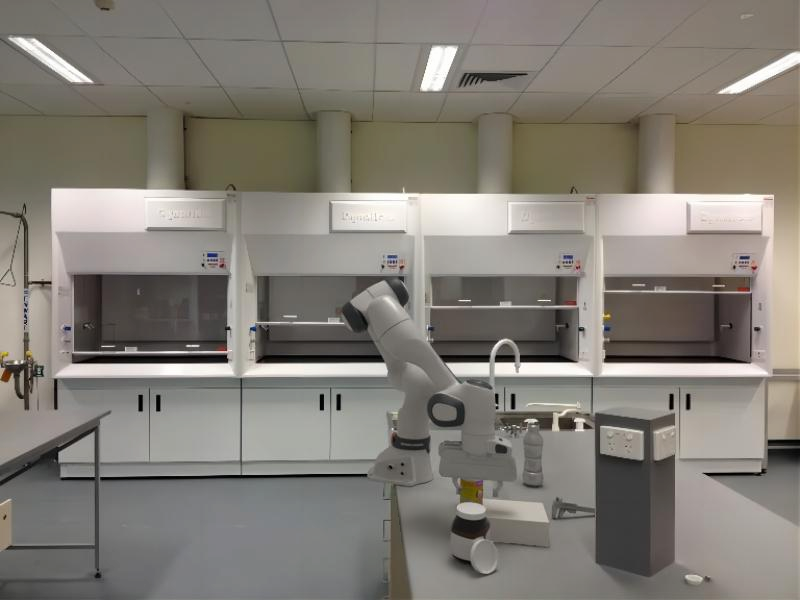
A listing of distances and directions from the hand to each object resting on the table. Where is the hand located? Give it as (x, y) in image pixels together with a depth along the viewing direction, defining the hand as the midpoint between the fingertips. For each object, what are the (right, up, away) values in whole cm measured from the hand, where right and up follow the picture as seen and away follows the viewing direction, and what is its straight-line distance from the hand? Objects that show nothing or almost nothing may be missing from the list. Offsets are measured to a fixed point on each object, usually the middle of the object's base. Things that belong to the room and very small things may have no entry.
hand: (477, 495), depth 130 cm
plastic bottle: (+24, -10, +33) cm, 42 cm away
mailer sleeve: (+9, -9, -1) cm, 13 cm away
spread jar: (-3, -10, -15) cm, 18 cm away
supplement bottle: (+1, -10, +15) cm, 17 cm away
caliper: (+32, -10, +10) cm, 35 cm away
